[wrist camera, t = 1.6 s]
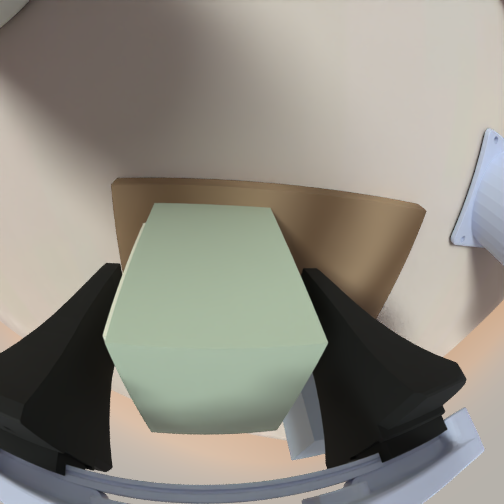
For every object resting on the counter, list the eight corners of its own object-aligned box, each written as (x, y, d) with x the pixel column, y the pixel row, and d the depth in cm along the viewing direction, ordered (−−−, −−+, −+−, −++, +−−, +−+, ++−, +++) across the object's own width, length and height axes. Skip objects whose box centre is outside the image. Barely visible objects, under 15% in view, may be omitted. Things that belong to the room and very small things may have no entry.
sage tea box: (252, 308, 14) (276, 430, 8) (157, 306, 13) (143, 431, 7) (270, 207, 11) (328, 342, 5) (147, 202, 10) (91, 340, 4)
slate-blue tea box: (363, 334, 17) (401, 415, 11) (339, 372, 19) (365, 443, 14) (287, 342, 16) (314, 441, 10) (272, 380, 18) (290, 461, 13)
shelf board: (417, 204, 12) (450, 230, 10) (330, 377, 21) (340, 404, 19) (117, 178, 10) (91, 206, 7) (156, 385, 19) (155, 416, 16)
